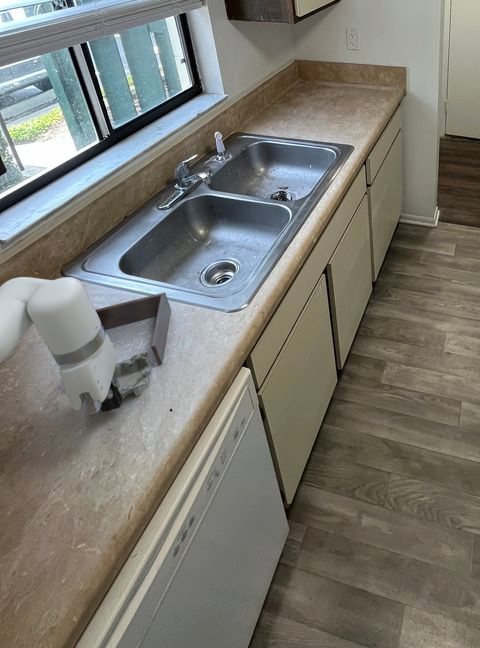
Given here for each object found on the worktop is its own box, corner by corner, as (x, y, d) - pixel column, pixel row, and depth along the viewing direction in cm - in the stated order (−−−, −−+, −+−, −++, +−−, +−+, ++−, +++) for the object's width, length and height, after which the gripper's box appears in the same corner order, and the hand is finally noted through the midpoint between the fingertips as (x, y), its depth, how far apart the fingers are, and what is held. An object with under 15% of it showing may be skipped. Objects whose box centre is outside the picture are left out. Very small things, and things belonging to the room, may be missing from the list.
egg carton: (155, 362, 94) (150, 349, 92) (147, 396, 87) (142, 383, 86) (98, 377, 91) (92, 364, 89) (86, 413, 84) (79, 400, 83)
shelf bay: (80, 388, 89) (70, 369, 86) (99, 328, 102) (91, 310, 99) (162, 364, 93) (155, 345, 91) (171, 309, 106) (165, 291, 103)
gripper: (69, 313, 81) (101, 376, 89) (36, 390, 68) (77, 455, 76) (114, 302, 83) (142, 364, 91) (90, 374, 70) (125, 439, 78)
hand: (112, 405), depth 84 cm, fingers closed
